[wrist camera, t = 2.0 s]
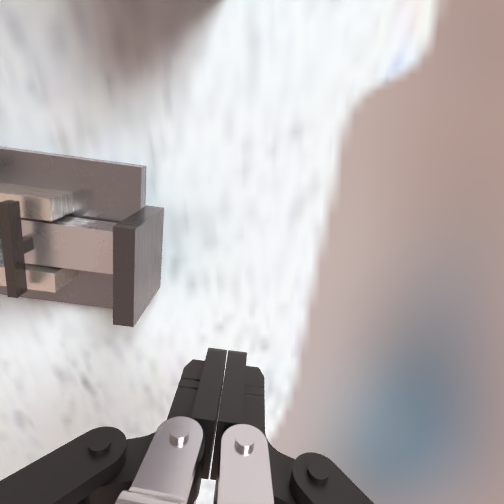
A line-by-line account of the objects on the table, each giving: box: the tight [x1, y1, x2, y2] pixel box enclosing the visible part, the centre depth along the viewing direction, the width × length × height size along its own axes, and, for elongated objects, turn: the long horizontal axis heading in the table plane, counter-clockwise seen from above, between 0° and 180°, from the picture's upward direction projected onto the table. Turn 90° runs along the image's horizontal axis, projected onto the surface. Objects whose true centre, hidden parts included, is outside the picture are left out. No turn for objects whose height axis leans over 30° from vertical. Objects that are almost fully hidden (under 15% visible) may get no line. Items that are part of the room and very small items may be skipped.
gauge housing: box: [0, 147, 146, 308], centre depth 23 cm, size 11×14×7 cm
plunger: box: [0, 200, 164, 327], centre depth 22 cm, size 6×9×6 cm, turn 83°
